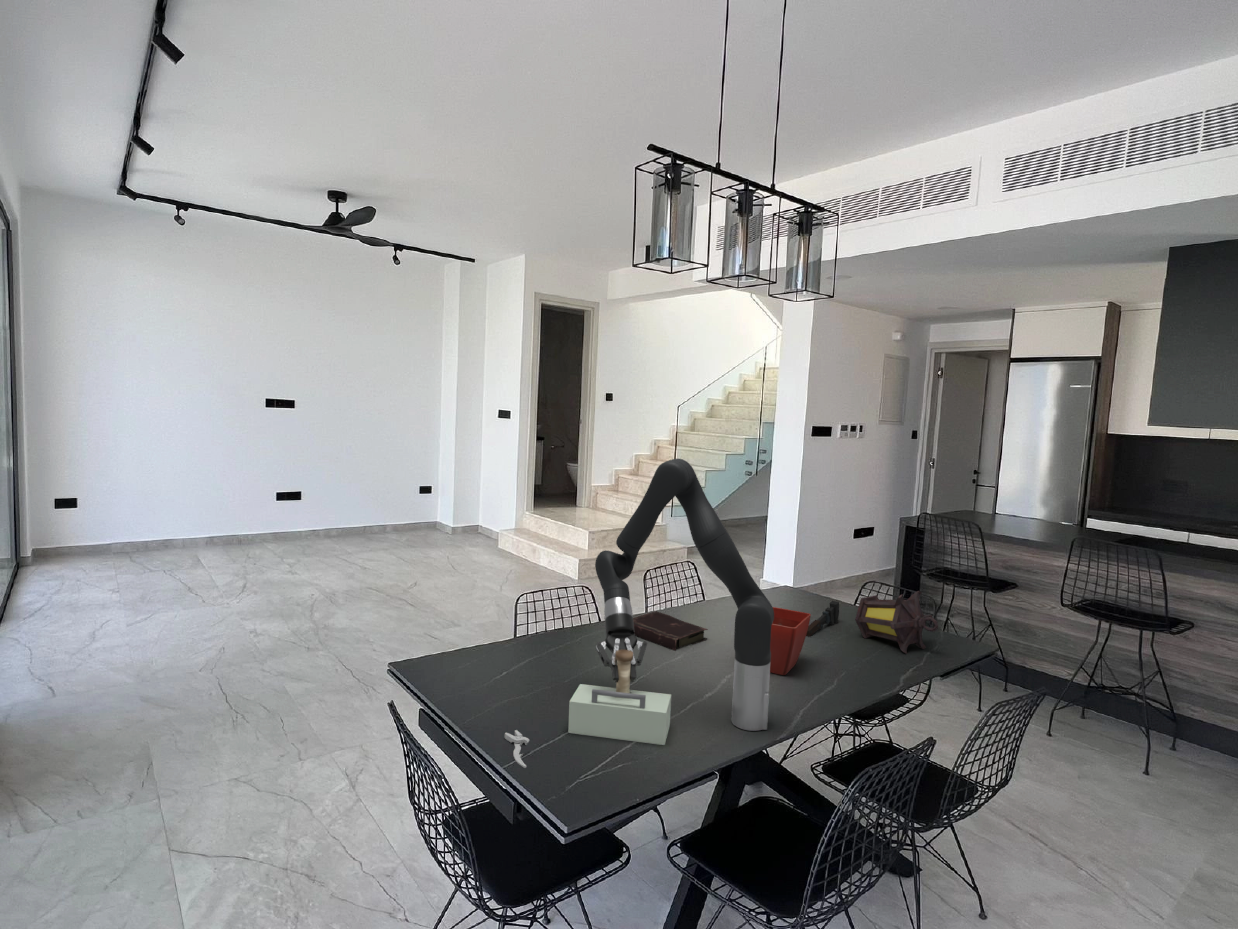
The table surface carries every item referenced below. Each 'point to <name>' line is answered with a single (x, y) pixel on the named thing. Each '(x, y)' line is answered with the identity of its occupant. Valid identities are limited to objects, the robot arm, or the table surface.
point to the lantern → (894, 620)
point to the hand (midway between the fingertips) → (624, 680)
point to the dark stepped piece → (825, 618)
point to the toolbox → (620, 714)
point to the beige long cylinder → (623, 670)
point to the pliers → (517, 745)
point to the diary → (667, 630)
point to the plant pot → (787, 639)
